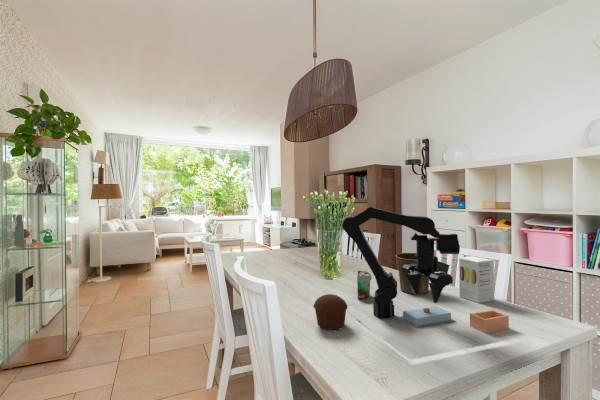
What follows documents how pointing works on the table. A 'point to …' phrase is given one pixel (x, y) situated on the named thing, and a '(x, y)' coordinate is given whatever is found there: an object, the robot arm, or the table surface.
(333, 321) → the muffin
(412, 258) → the plant pot
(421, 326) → the mat
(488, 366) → the table surface
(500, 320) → the orange open box
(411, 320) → the lid
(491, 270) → the supplement box
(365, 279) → the food container
